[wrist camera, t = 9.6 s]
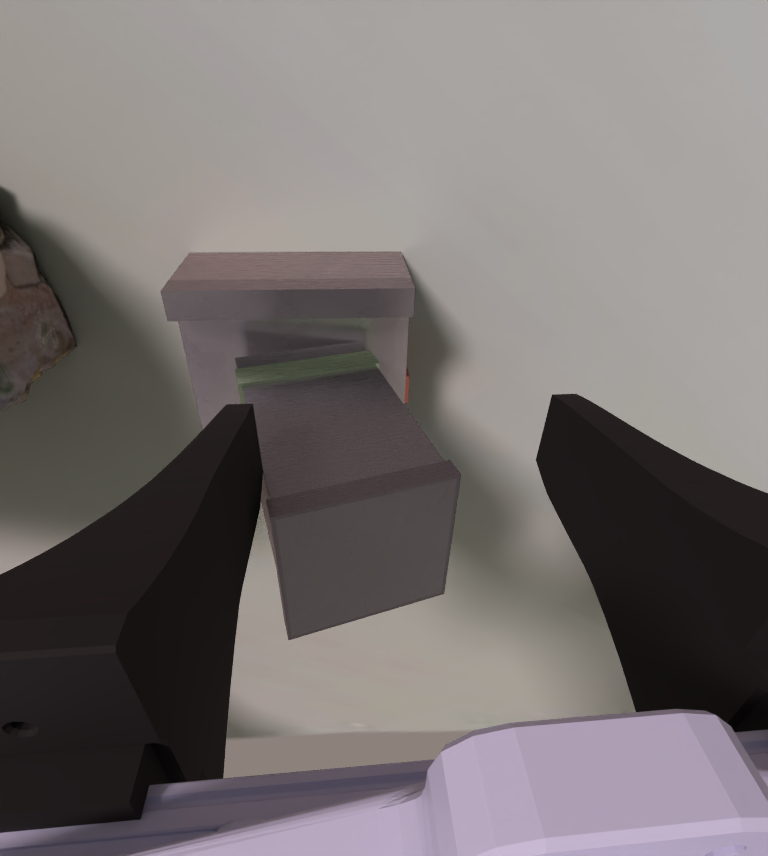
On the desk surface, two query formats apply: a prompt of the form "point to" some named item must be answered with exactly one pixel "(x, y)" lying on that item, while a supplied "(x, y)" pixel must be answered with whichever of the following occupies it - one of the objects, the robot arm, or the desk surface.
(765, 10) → the desk surface
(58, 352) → the fossil rock
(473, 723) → the desk surface
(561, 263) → the desk surface
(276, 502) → the grey rectangular block
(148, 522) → the robot arm
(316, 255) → the stand block
